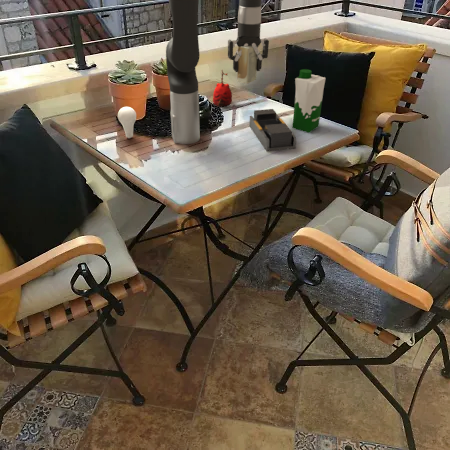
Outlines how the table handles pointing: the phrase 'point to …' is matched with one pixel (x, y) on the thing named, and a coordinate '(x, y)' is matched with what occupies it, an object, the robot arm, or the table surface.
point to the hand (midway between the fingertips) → (247, 70)
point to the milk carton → (308, 101)
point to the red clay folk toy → (222, 94)
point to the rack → (272, 131)
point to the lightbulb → (127, 120)
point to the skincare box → (247, 65)
